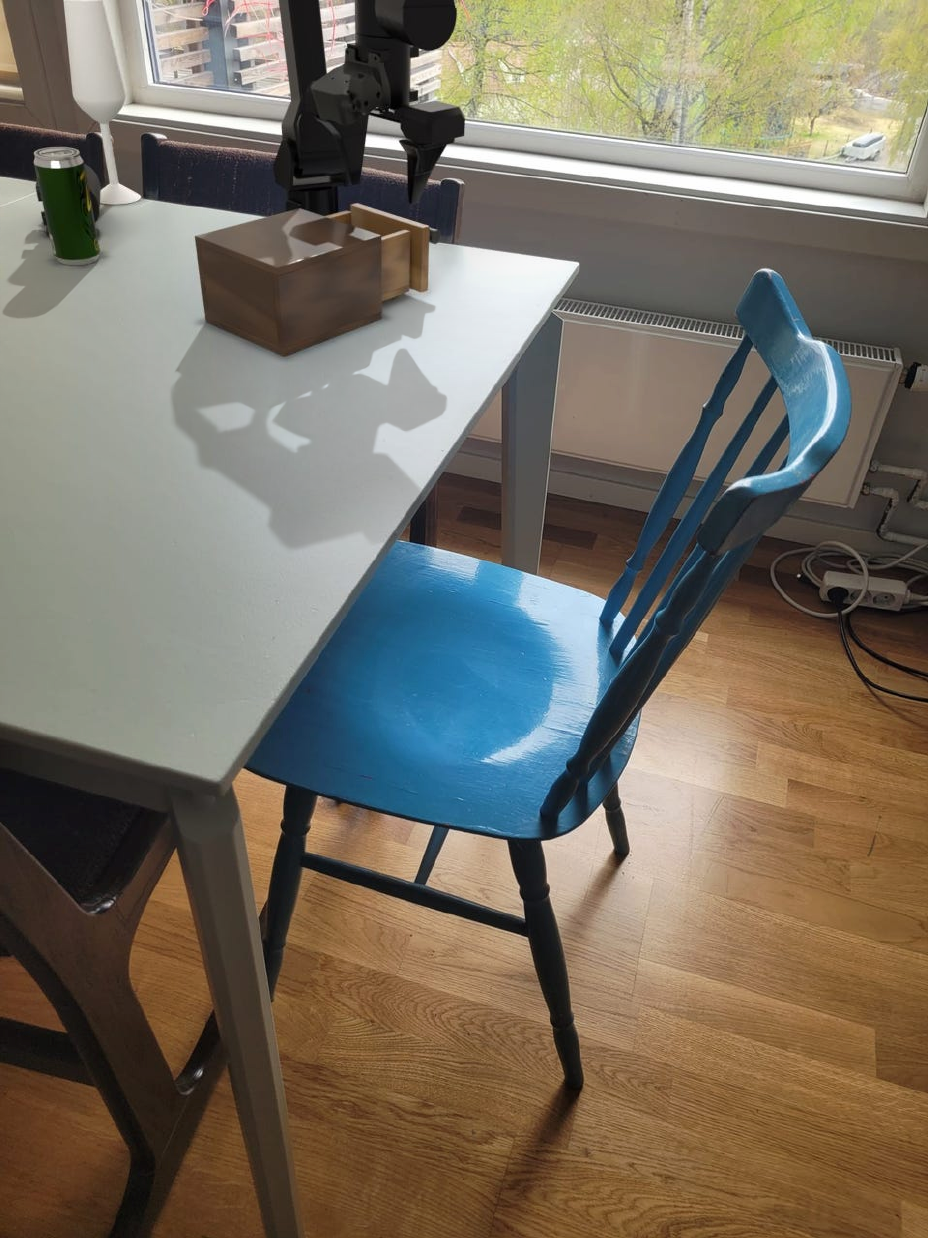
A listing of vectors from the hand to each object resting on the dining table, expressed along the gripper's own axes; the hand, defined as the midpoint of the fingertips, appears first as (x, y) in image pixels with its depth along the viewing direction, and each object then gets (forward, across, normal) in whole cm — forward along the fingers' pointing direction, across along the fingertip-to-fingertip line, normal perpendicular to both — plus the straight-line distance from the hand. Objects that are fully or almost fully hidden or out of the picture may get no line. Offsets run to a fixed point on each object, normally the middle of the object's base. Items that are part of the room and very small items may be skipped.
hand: (383, 193), depth 108 cm
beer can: (+11, -32, -21) cm, 39 cm away
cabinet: (+11, 0, -14) cm, 18 cm away
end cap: (+11, -43, -14) cm, 46 cm away
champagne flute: (+11, -50, -3) cm, 51 cm away
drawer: (+10, 0, -3) cm, 10 cm away
